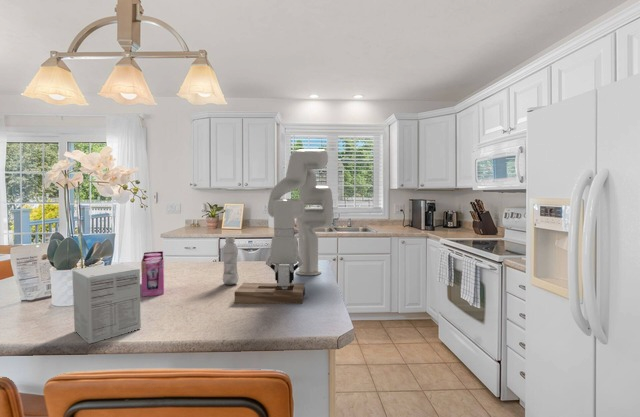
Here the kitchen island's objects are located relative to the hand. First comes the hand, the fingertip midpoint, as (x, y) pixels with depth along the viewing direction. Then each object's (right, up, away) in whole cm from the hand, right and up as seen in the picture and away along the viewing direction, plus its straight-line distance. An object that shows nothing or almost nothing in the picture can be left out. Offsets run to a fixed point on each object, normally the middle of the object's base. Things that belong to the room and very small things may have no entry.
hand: (284, 281), depth 125 cm
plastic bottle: (-25, -6, +20) cm, 33 cm away
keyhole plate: (-5, -6, 0) cm, 8 cm away
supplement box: (-47, -8, -29) cm, 56 cm away
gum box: (-55, -6, +14) cm, 57 cm away
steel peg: (0, -6, 0) cm, 6 cm away
